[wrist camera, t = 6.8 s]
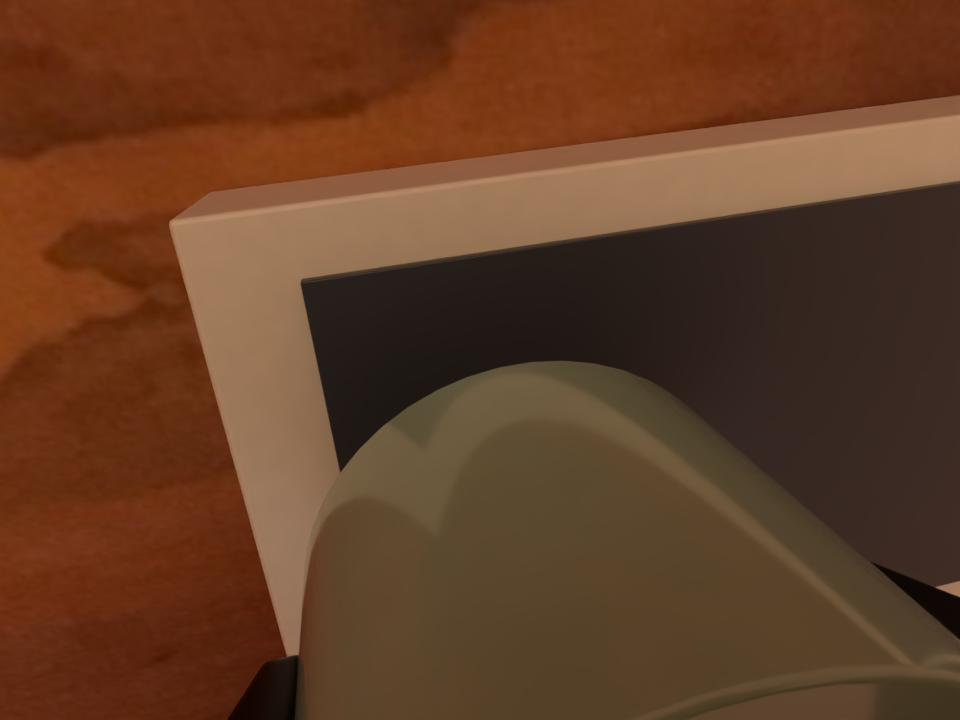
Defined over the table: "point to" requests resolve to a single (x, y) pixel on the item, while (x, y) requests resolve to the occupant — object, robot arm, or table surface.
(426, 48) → the table surface
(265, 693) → the robot arm
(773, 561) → the cup
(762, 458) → the copier
